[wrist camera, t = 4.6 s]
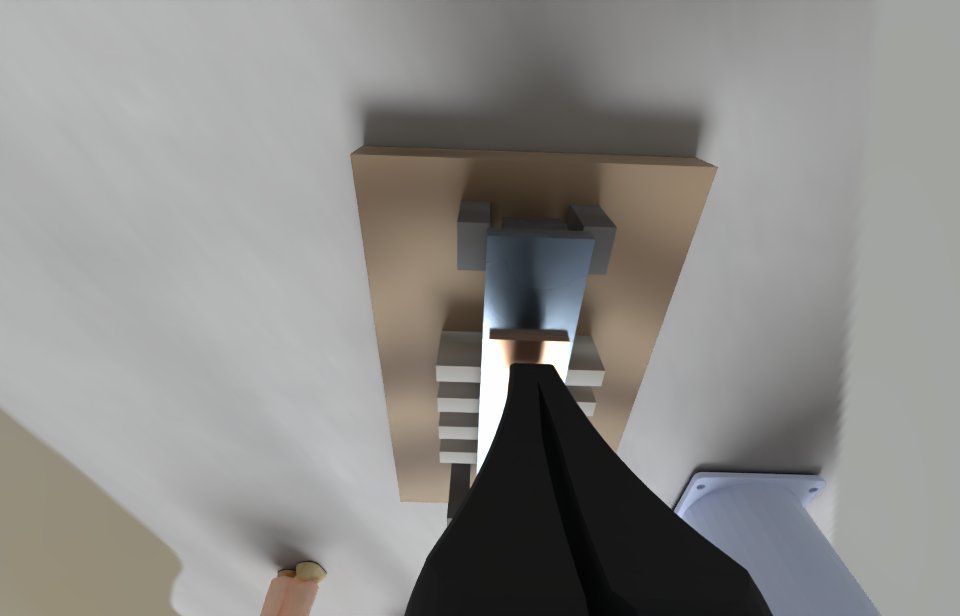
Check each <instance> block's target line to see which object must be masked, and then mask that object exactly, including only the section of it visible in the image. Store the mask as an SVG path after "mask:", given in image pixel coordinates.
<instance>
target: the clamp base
mask: <svg viewBox="0 0 960 616" xmlns="http://www.w3.org/2000/svg"><path fill="white" fill-rule="evenodd" d="M350 156H351V163H352V169H353V176H354V183H355V190H356V197H357V204H358V211H359V218H360V225H361V232H362V238H363V245H364V252H365V259H366V266H367V273H368V280H369V287H370V294H371V300H372V307H373V314H374V321H375V328H376V335H377V342H378V349H379V356H380V362H381V369H382V376H383V383H384V390H385V397H386V404H387V411H388V418H389V425H390V431H391V438H392V445H393V452H394V459H395V466H396V473H397V480H398V487H399V493H400V500H401V502H434V503H448V513H447V527H448V525H449V523H450V522H451V520H452V519H453V517H454V515H455V514H456V512H457V510H458V508H459V507H460V505H461V503H462V502H463V500H464V498H465V497H466V495H467V493H468V491H469V490H470V488H471V486H472V484H473V482H474V480H475V478H476V472H477V450H478V427H479V404H480V382H481V359H482V336H483V314H484V291H485V268H486V245H487V228H501V227H502V217H521V218H550V219H563V220H564V222H565V224H566V226H567V228H568V230H569V231H590V232H591V233H592V235H593V237H594V238H595V243H594V248H593V252H592V257H591V262H590V266H589V271H588V276H587V280H586V285H585V290H584V294H583V299H582V304H581V309H580V313H579V318H578V323H577V327H576V332H575V337H574V341H573V346H572V351H571V355H570V360H569V365H568V370H567V374H566V379H565V385H566V387H567V388H568V390H569V391H570V393H571V394H572V396H573V398H574V399H575V401H576V402H577V404H578V405H579V406H580V408H581V409H582V411H583V412H584V413H585V415H586V416H587V418H588V419H589V421H590V422H591V423H592V425H593V426H594V427H595V429H596V430H597V431H598V432H599V434H600V435H601V436H602V437H603V439H604V440H605V441H606V442H607V444H608V445H609V446H610V447H611V448H612V450H613V451H614V452H615V453H616V452H617V449H618V446H619V443H620V441H621V438H622V435H623V432H624V429H625V426H626V424H627V421H628V418H629V415H630V412H631V410H632V407H633V404H634V401H635V398H636V396H637V393H638V390H639V387H640V384H641V382H642V379H643V376H644V373H645V370H646V368H647V365H648V362H649V359H650V356H651V354H652V351H653V348H654V345H655V342H656V339H657V337H658V334H659V331H660V328H661V325H662V323H663V320H664V317H665V314H666V311H667V309H668V306H669V303H670V300H671V297H672V295H673V292H674V289H675V286H676V283H677V281H678V278H679V275H680V272H681V269H682V266H683V264H684V261H685V258H686V255H687V252H688V250H689V247H690V244H691V241H692V238H693V236H694V233H695V230H696V227H697V224H698V222H699V219H700V216H701V213H702V210H703V208H704V205H705V202H706V199H707V196H708V194H709V191H710V188H711V185H712V182H713V179H714V177H715V174H716V171H717V168H718V167H716V166H714V165H712V164H709V163H707V162H705V161H703V160H700V159H698V158H690V157H662V156H634V155H606V154H578V153H550V152H522V151H494V150H466V149H438V148H410V147H382V146H362V147H360V148H359V149H357V150H356V151H354V152H353V153H351V154H350Z"/></svg>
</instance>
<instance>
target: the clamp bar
mask: <svg viewBox="0 0 960 616" xmlns="http://www.w3.org/2000/svg"><path fill="white" fill-rule="evenodd" d="M594 243H595V238H594V237H593V235H592V233H591V232H590V231H569V230H568V228H567V226H566V224H565V222H564V220H563V219H550V218H521V217H502V227H501V228H487V245H486V268H485V291H484V314H483V336H482V359H481V382H480V404H479V427H478V450H477V472H476V476H477V474H478V472H479V470H480V468H481V466H482V464H483V462H484V460H485V457H486V455H487V453H488V451H489V448H490V446H491V443H492V441H493V438H494V436H495V433H496V430H497V427H498V425H499V422H500V419H501V416H502V413H503V409H504V406H505V402H506V398H507V388H508V378H509V368H510V365H511V364H513V363H535V364H553V365H554V366H555V368H556V369H557V371H558V373H559V375H560V377H561V378H562V380H563V382H564V383H565V379H566V374H567V370H568V365H569V360H570V355H571V351H572V346H573V341H574V337H575V332H576V327H577V323H578V318H579V313H580V309H581V304H582V299H583V294H584V290H585V285H586V280H587V276H588V271H589V266H590V262H591V257H592V252H593V248H594Z"/></svg>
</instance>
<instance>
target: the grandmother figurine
mask: <svg viewBox="0 0 960 616" xmlns="http://www.w3.org/2000/svg"><path fill="white" fill-rule="evenodd" d="M325 577H326V572H325V571H324V570H323V569H322V568H321V567H320V566H319V565H318V564H315V563H313V562H302V563H299V564H298V565H297V566H296V571H293V570H283V571H280V572H279V573H278V575H277V578H274V579H272V581H271V584H270V587H269V589H268V592H267V595H266V598H265V602H264V605H263V608H262V612H261V615H260V616H309V613H310V610H311V607H312V605H313V602H314V599H315V597H316V594H317V591H318V585H317V583H319V582H321V581H322V580H323V579H324V578H325Z"/></svg>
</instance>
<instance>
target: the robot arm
mask: <svg viewBox="0 0 960 616" xmlns="http://www.w3.org/2000/svg"><path fill="white" fill-rule="evenodd" d="M825 484H826V482H825V480H824V479H823V478H822V477H821V476H818V475H793V474H759V473H725V472H699V473H696V474H695V475H694V476H693V478H692V479H691V481H690V483H689V485H688V487H687V488H686V490H685V492H684V494H683V496H682V497H681V499H680V501H679V503H678V504H677V506H676V508H675V510H674V511H673V510H671V509H670V508H669V507H668V506H667V505H666V504H665V503H664V502H663V501H662V500H661V499H660V498H659V497H657V496H656V495H655V494H654V493H653V492H652V491H651V490H650V489H649V488H648V487H647V486H646V485H645V484H644V483H643V482H642V481H641V480H640V479H639V478H638V477H637V476H636V475H635V474H634V473H633V472H632V471H631V470H630V469H629V468H628V467H627V465H626V464H625V463H624V462H623V461H622V460H621V459H620V458H619V457H618V455H617V454H616V453H615V452H614V451H613V450H612V448H611V447H610V446H609V445H608V444H607V442H606V441H605V440H604V439H603V437H602V436H601V435H600V434H599V432H598V431H597V430H596V429H595V427H594V426H593V425H592V423H591V422H590V421H589V419H588V418H587V416H586V415H585V413H584V412H583V411H582V409H581V408H580V406H579V405H578V404H577V402H576V401H575V399H574V398H573V396H572V394H571V393H570V391H569V390H568V388H567V387H566V385H565V383H564V382H563V380H562V378H561V377H560V375H559V373H558V371H557V369H556V368H555V366H554V365H553V364H535V363H513V364H511V365H510V368H509V378H508V388H507V398H506V402H505V406H504V409H503V413H502V416H501V419H500V422H499V425H498V427H497V430H496V433H495V436H494V438H493V441H492V443H491V446H490V448H489V451H488V453H487V455H486V457H485V460H484V462H483V464H482V466H481V468H480V470H479V472H478V474H477V476H476V478H475V480H474V482H473V484H472V486H471V488H470V490H469V491H468V493H467V495H466V497H465V498H464V500H463V502H462V503H461V505H460V507H459V508H458V510H457V512H456V514H455V515H454V517H453V519H452V520H451V522H450V523H449V525H448V527H447V528H446V530H445V531H444V533H443V534H442V536H441V537H440V539H439V540H438V541H437V543H436V544H435V546H434V547H433V549H432V550H431V552H430V553H429V555H428V556H427V558H426V561H425V564H424V566H423V568H422V570H421V573H420V575H419V577H418V579H417V582H416V584H415V587H414V589H413V591H412V594H411V597H410V599H409V602H408V605H407V608H406V612H405V616H882V615H881V614H880V612H879V611H878V610H877V608H876V607H875V606H874V604H873V603H872V601H871V600H870V599H869V597H868V596H867V594H866V593H865V592H864V590H863V589H862V588H861V586H860V585H859V583H858V582H857V581H856V579H855V578H854V576H853V575H852V574H851V572H850V571H849V569H848V568H847V567H846V565H845V564H844V562H843V561H842V560H841V558H840V557H839V555H838V554H837V553H836V551H835V550H834V549H833V547H832V546H831V544H830V543H829V542H828V540H827V539H826V537H825V536H824V535H823V533H822V532H821V530H820V529H819V528H818V526H817V525H816V523H815V522H814V521H813V519H812V518H811V517H810V515H809V514H808V512H807V511H806V510H805V507H806V506H807V505H808V504H809V503H810V502H811V500H812V499H813V498H814V497H815V496H816V495H817V494H818V493H819V491H820V490H821V489H822V488H823V487H824V486H825Z"/></svg>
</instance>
